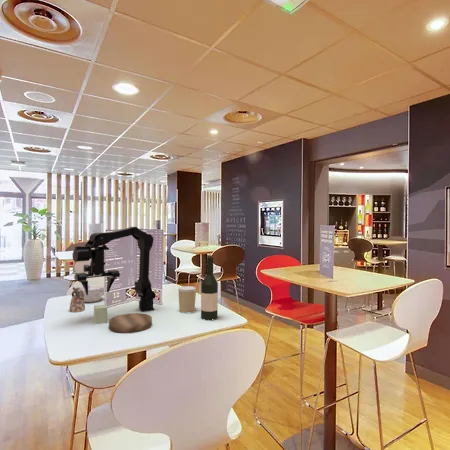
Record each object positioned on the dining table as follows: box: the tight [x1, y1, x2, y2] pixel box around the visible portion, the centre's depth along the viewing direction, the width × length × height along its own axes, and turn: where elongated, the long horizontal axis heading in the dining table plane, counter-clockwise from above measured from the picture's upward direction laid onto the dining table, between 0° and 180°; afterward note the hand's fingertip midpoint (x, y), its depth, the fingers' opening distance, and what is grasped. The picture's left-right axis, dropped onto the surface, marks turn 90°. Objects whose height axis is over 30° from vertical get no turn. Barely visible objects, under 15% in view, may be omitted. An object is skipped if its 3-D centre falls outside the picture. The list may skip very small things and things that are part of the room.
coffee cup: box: [177, 285, 197, 313], centre depth 158 cm, size 9×9×12 cm
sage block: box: [93, 304, 108, 325], centre depth 138 cm, size 5×5×7 cm
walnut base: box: [108, 312, 153, 334], centre depth 133 cm, size 18×18×3 cm
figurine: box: [69, 286, 86, 313], centre depth 156 cm, size 7×7×12 cm
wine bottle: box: [200, 255, 219, 321], centre depth 147 cm, size 8×8×30 cm
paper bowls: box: [79, 284, 105, 303], centre depth 177 cm, size 15×15×8 cm
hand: (97, 293), depth 140 cm, fingers open, 9 cm apart
